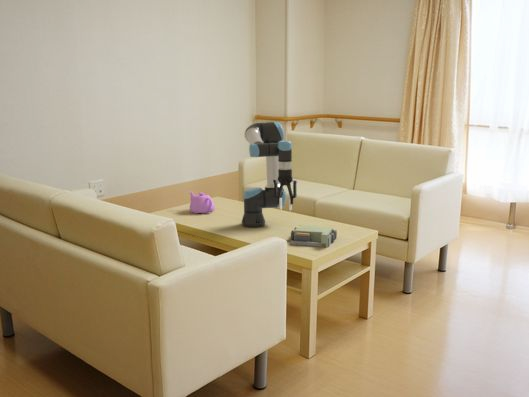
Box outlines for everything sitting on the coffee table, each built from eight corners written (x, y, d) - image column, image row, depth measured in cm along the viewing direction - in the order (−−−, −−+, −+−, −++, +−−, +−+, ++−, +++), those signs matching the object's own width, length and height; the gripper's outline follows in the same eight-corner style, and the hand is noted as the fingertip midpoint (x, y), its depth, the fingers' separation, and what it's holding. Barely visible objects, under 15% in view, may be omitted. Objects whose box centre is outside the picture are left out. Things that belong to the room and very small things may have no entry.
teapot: (222, 211, 395) (221, 192, 392) (202, 216, 383) (201, 196, 380) (199, 206, 412) (199, 188, 410) (180, 211, 400) (179, 192, 397)
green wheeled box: (286, 244, 313) (286, 232, 311) (296, 234, 332) (296, 223, 330) (329, 247, 305) (329, 235, 304) (336, 237, 324) (336, 225, 323)
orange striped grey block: (294, 243, 313) (294, 234, 312) (297, 240, 318) (297, 231, 317) (308, 244, 311) (308, 235, 310) (310, 241, 315) (310, 232, 314)
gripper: (267, 169, 308) (268, 210, 313) (299, 170, 303) (299, 212, 307) (271, 167, 315) (272, 207, 320) (302, 168, 310) (302, 209, 314)
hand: (285, 209), depth 314 cm, fingers open, 5 cm apart
